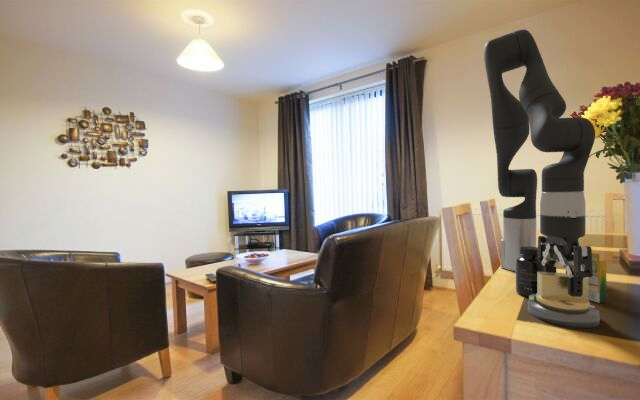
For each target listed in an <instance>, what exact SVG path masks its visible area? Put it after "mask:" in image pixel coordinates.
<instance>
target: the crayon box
mask: <svg viewBox="0 0 640 400" xmlns="http://www.w3.org/2000/svg"><path fill="white" fill-rule="evenodd" d="M582 258H583V257H582ZM572 262H574V260H573V261H572ZM607 262H608V261H607V260H603V259H600V253H594V252H592V274H593V276H592V277H588V300H589V301H590V302H591V301H592V302H594V303H596V304H597V303H598V304H601V303H604V302H607ZM582 267H583V269H584V271H585V265H582ZM572 269H573V271H574V267H572ZM565 273H567V271H566V270H565Z"/></svg>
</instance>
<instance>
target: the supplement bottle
mask: <svg viewBox="0 0 640 400" xmlns="http://www.w3.org/2000/svg"><path fill="white" fill-rule="evenodd" d="M520 255H521V257H519V258H517V259H516V271H515V290H516V293H517V294H518V295H519V296H522V297H525V298H529V296H530V295H531V294H533V293H534V294H536V293H537V271H538V272H544V266H543V265H542V262H541V261H538V259H537V257H538V246H536V247H527V246H526V247H520Z"/></svg>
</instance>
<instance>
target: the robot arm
mask: <svg viewBox="0 0 640 400" xmlns="http://www.w3.org/2000/svg"><path fill="white" fill-rule="evenodd" d="M483 60H484V66H485V67H484V68H485V71H486V76H487V83H488V90H489V95H490V102H491V103H490V105H491V115H492V116H491V119H492V128H493V129H492V130H493V138H494V144H495V151H496V164H497V189H498V192H499V194H500V196H501V197H503V198H524V200H523V201H522V202H520V203H519V204H516V205H513V206H509V207H507V208H505V209H503V213H502V216H503V217H502V218H503V219H502V220H503V225H502V226H503V228H502V229H503V233H502V235H503V236H502V237H503V239H501V240H500V268H501V267H502V268H503V269H505V270H509V271H512V272H516V259H517V258H519V257H521V255H520V247H526V246H527V247H538V257H537V259H538V261H541V262H542V265H543V266H544V272H554V273H557V264H559V263H560V265H561V267H563V268H564V269H565V272H566V271H567V273H568V275H569V277H568V294H569V295H570V296H573V297H581V296H582V295H583V278H586V277H592V276H593V274H592V253H593V251H592V250H593V249H592V247H591V245H580V243H579V239H580V238H583V237H585V236H586V197H585V171H586V167H587V164H588V161H589V158H590V155H591V152H592V149H593V146H594V143H595V139H596V129H595V128H596V127H595V126H594V124H593V123H592V122H591V120H589V119H588V118H586V117H579V116H578V117H562V116H564V114H565V112H566V110H567V104H566V101H565V99H564V97H563V96H562V95H561V93H560V92H559V91H558V89H557V88H556V86H555V85H554V83H553V82H552V79H551V78H550V76H549V73H548V71H547V68H546V65H545V62H544V59H543V58H542V55H541V51H540V49H539V47H538V45H537V42H536V40H535V38H534V36H533V35H532V33H531V32H530V31H529V30H527V29H518V30H515V31H513V32H510V33H506V34H504V35H501V36H499V37H495V38H493V39H491V40H488V41H487V42H486V43H485V44H484V47H483ZM522 67H525V68H526V71H525V73H524V76H523V78H522V81H521V84H520V86H519V90H518V98H516V96H515V95H514V94H512V93H511V92H510V90H509V89H508V87H507V86H506V85H505V82H504V80H503V74H505V73H507V72H511V71H513V70H516V69H519V68H522ZM529 135H530V141H531V144H532V145H533V147H534V148H536V149H537V150H538V151H539V152H542V153H563V154H562V156H561V158H560V160H559V162H555V163H551V164H548V165H545V166H544V167H543V168H542V170H541V195H540V196H541V197H540V202H539V210H540V211H539V217H540V218H539V221H540V222H539V223H540V224H539V225H540V226H539V233H540V234H541V235H538V237H537V190H538V175H537V172H536V170H535V169H533V168H522V169H521V168H520V169H509V168H510V165H511V162H512V161H513V160H514V158H515V156H516V154H517V153H518V152H519V150H520V149H521V148H522V146H523V145H524V144H525V143H526V141H527V140H528V138H529ZM582 257H583V258H582ZM573 260H574V262H572V261H573ZM582 265H585V271H584V269H583V267H582ZM572 267H574V271H573V269H572Z"/></svg>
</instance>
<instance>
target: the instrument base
mask: <svg viewBox="0 0 640 400" xmlns="http://www.w3.org/2000/svg"><path fill="white" fill-rule="evenodd" d="M527 311H528V313H529V314H530V315H532V316H533V317H535V318H536V319H538V320H542V321H543V322H547V323H549V324H550V323H551V324H554V325H558V326H563V327H569V328H575V329H576V328H577V329H591V328H596V327H599V325H600V322H601V321H600V319H601V317H600V316H601V315H600V314H601V313H600V310H598V309H597V308H596V307H595V305H592V304H590V311H589V312H586V313H568V312H561V311H556V310H552V309H549V308H546V307H543V306H541V305H539V304H538V303H537V302H536V294H534V293H533V294H531V295H530V296H529V297H528V300H527Z"/></svg>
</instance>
